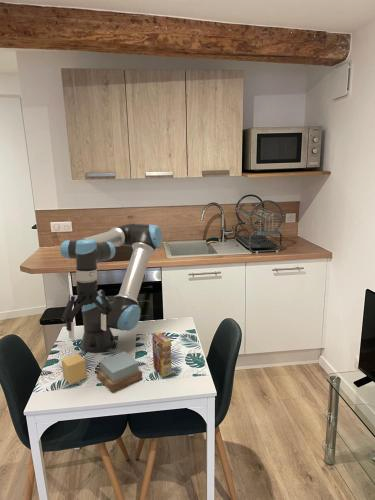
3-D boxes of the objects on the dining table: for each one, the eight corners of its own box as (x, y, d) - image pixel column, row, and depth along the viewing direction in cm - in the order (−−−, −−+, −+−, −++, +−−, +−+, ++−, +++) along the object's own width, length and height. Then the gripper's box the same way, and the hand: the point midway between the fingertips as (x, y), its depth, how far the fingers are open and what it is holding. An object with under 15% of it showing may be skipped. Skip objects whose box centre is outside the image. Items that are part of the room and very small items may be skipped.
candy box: (172, 374, 143) (171, 340, 139) (163, 377, 141) (161, 343, 137) (162, 364, 150) (160, 331, 147) (153, 367, 148) (151, 334, 144)
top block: (100, 369, 141) (99, 361, 140) (125, 360, 148) (124, 351, 147) (113, 382, 133) (112, 373, 132) (138, 371, 139) (138, 362, 139)
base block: (97, 379, 142) (96, 370, 141) (125, 366, 150) (124, 358, 149) (113, 394, 132) (112, 385, 131) (142, 380, 140) (141, 371, 139)
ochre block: (63, 376, 143) (61, 359, 141) (79, 370, 147) (77, 353, 146) (70, 384, 138) (67, 366, 136) (87, 377, 142) (85, 359, 140)
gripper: (59, 287, 123) (61, 345, 126) (120, 277, 140) (120, 329, 143) (50, 283, 128) (52, 339, 131) (110, 274, 146) (110, 324, 148)
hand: (88, 334), depth 137 cm, fingers open, 13 cm apart
